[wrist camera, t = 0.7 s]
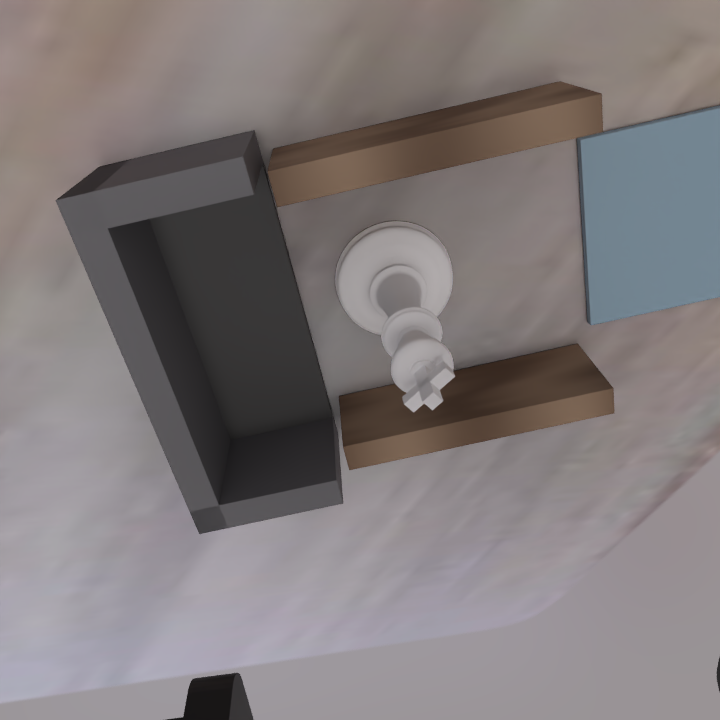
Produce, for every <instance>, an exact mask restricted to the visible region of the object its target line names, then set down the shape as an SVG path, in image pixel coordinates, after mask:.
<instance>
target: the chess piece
mask: <svg viewBox="0 0 720 720" xmlns="http://www.w3.org/2000/svg"><path fill="white" fill-rule="evenodd" d="M335 286H336V292H337V295H338V298H339V301H340V303H341V305H342V306H343V308H344V310H345V312H346V313H347V315H348V316H349V317H350V318H351V319H352V320H353V321H354V322H355V323H356V324H357V325H359V326H360V327H361V328H363V329H365V330H367V331H369V332H371V333H374V334H378V335H381V340H382V344H383V347H384V349H385V351H386V352H387V353H388V354H389V355H390V356H391V357H392V360H391V366H390V370H391V376H392V379H393V381H394V383H395V384H396V385H397V386H398V387H399V388H400V389H401V390H402V391H404V392H406V394H405V395H404V396H403V397H402V398H403V403H404V405H405V406H407V407H408V408H409V409H410V410H411V411H413V412H415V411H416V410H417V409H418V408H420V407H421V406H422V405H423V404H425V405H427V406H428V407H429V408H430V409H431V410H434V409H435V408H436V407H437V406H438V405H439V404H440V403H442V402H443V398H442V395H441V392H440V389H442V388H443V387H444V386H445V385H446V384H447V383H448V382H450V381H451V380H452V379H453V378H454V377H455V374H454V372H453V369H454V361H453V357H452V355H451V353H450V351H449V349H448V348H447V347H446V346H445V345H444V344H443V343H441V340H442V334H443V332H442V326H441V323H440V321H439V319H438V318H437V317H438V316H439V315H440V314H441V312H442V311H443V309H444V308H445V306H446V304H447V302H448V300H449V298H450V295H451V291H452V286H453V272H452V265H451V260H450V257H449V254H448V252H447V250H446V248H445V247H444V245H443V244H442V242H441V241H440V240H439V239H438V238H437V237H436V236H435V235H434V234H433V233H431V232H430V231H429V230H427V229H425V228H423V227H421V226H419V225H416V224H414V223H410V222H404V221H390V222H383V223H379V224H376V225H374V226H371V227H369V228H367V229H365V230H364V231H362V232H360V233H359V234H358V235H356V236H355V237H354V238H353V239H352V240H351V241H350V242H349V243H348V245H347V246H346V247H345V249H344V250H343V252H342V254H341V256H340V258H339V260H338V263H337V267H336V272H335Z"/></svg>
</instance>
